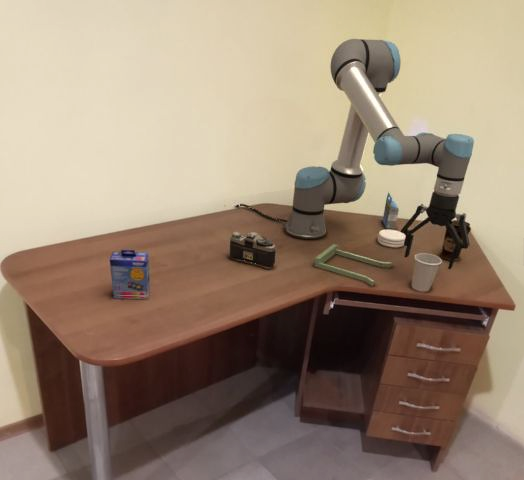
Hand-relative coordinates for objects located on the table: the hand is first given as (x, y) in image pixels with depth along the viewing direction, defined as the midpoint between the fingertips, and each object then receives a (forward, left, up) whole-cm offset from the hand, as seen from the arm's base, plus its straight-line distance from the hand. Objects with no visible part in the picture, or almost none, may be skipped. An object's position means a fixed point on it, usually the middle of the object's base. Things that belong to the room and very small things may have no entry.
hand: (428, 261), depth 160 cm
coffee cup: (+2, +31, -9) cm, 33 cm away
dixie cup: (0, 0, -9) cm, 9 cm away
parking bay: (-24, 0, -9) cm, 25 cm away
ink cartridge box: (-67, -59, -9) cm, 90 cm away
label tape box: (-27, +48, -9) cm, 56 cm away
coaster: (-20, +30, -9) cm, 37 cm away
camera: (-52, -16, -9) cm, 55 cm away
